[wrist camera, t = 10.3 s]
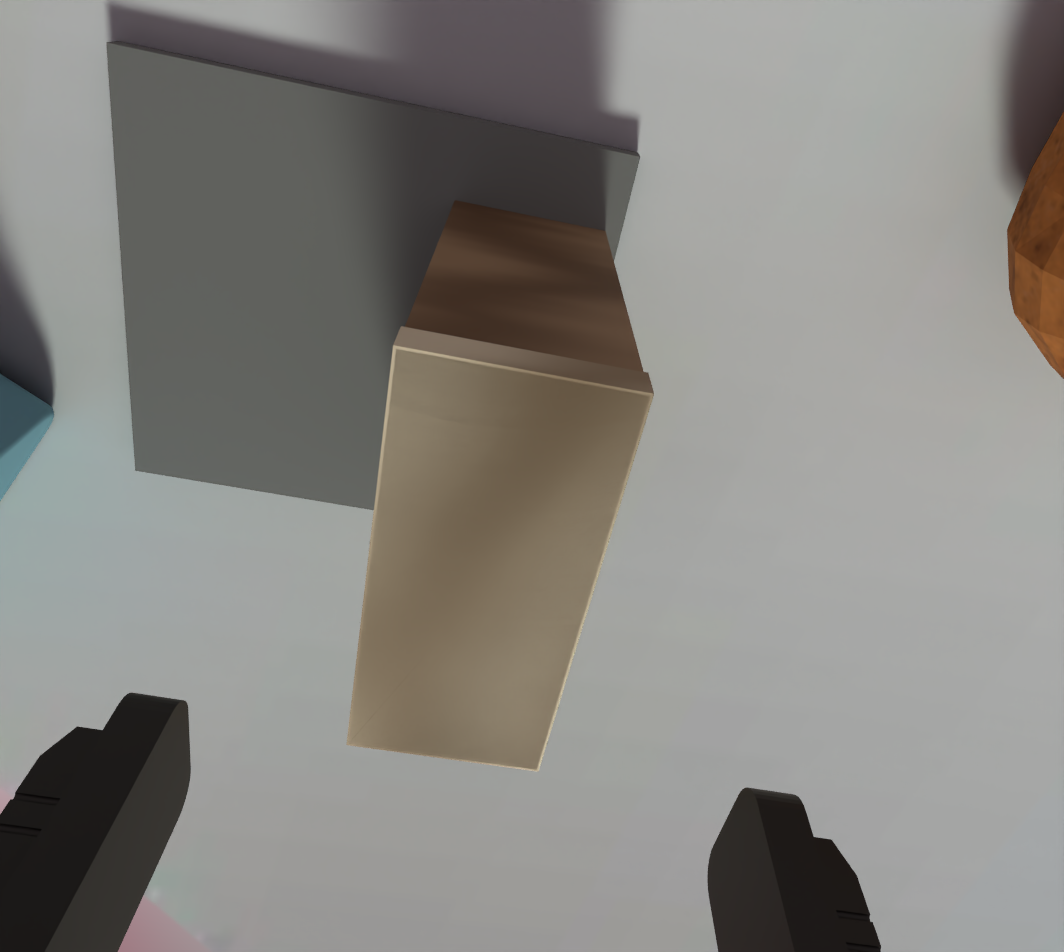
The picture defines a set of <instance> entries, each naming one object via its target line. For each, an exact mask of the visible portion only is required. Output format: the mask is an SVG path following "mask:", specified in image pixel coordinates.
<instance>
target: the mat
mask: <svg viewBox="0 0 1064 952" xmlns="http://www.w3.org/2000/svg"><path fill="white" fill-rule="evenodd" d="M107 57H108V72H109V87H110V101H111V116H112V131H113V146H114V161H115V175H116V190H117V205H118V220H119V235H120V250H121V264H122V279H123V294H124V309H125V324H126V338H127V353H128V368H129V383H130V398H131V412H132V427H133V442H134V457H135V471H141V472H147V473H153V474H159V475H165V476H171V477H177V478H183V479H189V480H195V481H201V482H207V483H213V484H219V485H226V486H232V487H238V488H244V489H250V490H256V491H262V492H268V493H274V494H280V495H286V496H292V497H298V498H304V499H310V500H316V501H322V502H328V503H334V504H340V505H346V506H352V507H358V508H364V509H370V510H374V505H375V497H376V488H377V479H378V471H379V462H380V454H381V445H382V437H383V428H384V419H385V411H386V402H387V394H388V385H389V377H390V368H391V359H392V351H393V344H394V342H395V339H396V337H397V334H398V332H399V330H400V327H401V326H403V327H405V325H406V322H407V320H408V317H409V315H410V312H411V310H412V307H413V305H414V302H415V300H416V297H417V295H418V292H419V290H420V287H421V284H422V282H423V279H424V277H425V274H426V272H427V269H428V267H429V264H430V262H431V259H432V257H433V254H434V252H435V249H436V247H437V244H438V241H439V239H440V236H441V234H442V231H443V229H444V226H445V224H446V221H447V219H448V216H449V214H450V211H451V209H452V206H453V204H454V201H455V200H457V201H462V202H467V203H472V204H477V205H482V206H486V207H491V208H496V209H501V210H506V211H511V212H516V213H520V214H525V215H530V216H535V217H540V218H545V219H550V220H555V221H559V222H564V223H569V224H574V225H579V226H584V227H589V228H593V229H598V230H603V231H606V235H607V239H608V242H609V246H610V250H611V253H612V257H613V261H614V259H615V255H616V251H617V247H618V243H619V239H620V235H621V231H622V227H623V223H624V219H625V215H626V211H627V207H628V203H629V199H630V195H631V191H632V187H633V183H634V179H635V176H636V172H637V168H638V164H639V160H640V156H639V154H638V153H637V152H632V151H628V150H623V149H618V148H614V147H609V146H604V145H600V144H595V143H591V142H586V141H581V140H577V139H572V138H567V137H563V136H558V135H553V134H549V133H544V132H539V131H535V130H530V129H525V128H521V127H516V126H511V125H507V124H502V123H497V122H493V121H488V120H483V119H479V118H474V117H469V116H465V115H460V114H455V113H451V112H446V111H441V110H437V109H432V108H427V107H423V106H418V105H413V104H409V103H404V102H399V101H395V100H390V99H385V98H381V97H376V96H371V95H367V94H362V93H357V92H353V91H348V90H343V89H339V88H334V87H330V86H325V85H320V84H316V83H311V82H306V81H302V80H297V79H292V78H288V77H283V76H278V75H274V74H269V73H264V72H260V71H255V70H250V69H246V68H241V67H236V66H232V65H227V64H222V63H218V62H213V61H208V60H204V59H199V58H194V57H190V56H185V55H180V54H176V53H171V52H166V51H162V50H157V49H152V48H148V47H143V46H138V45H134V44H129V43H124V42H120V41H115V42H107Z"/></svg>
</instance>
